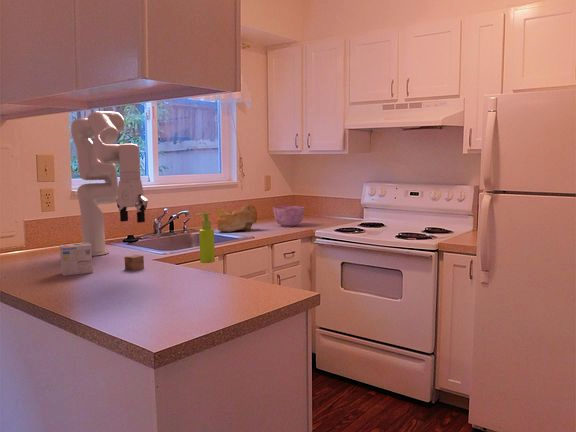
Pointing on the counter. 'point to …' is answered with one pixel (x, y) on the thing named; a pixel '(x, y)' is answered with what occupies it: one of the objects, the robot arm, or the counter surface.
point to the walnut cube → (134, 262)
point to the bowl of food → (288, 215)
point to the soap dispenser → (206, 241)
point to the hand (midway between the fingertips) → (132, 221)
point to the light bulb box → (76, 259)
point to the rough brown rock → (236, 219)
